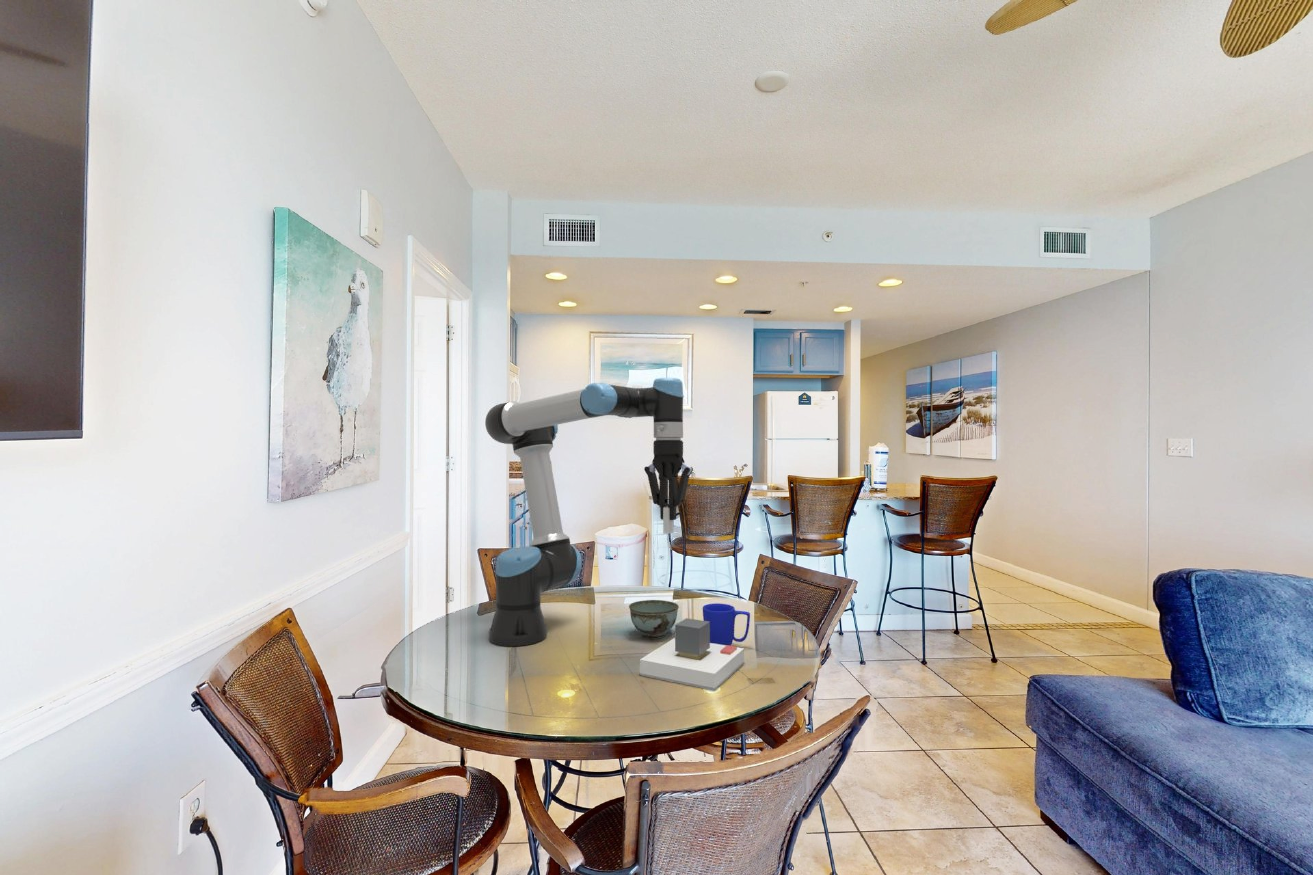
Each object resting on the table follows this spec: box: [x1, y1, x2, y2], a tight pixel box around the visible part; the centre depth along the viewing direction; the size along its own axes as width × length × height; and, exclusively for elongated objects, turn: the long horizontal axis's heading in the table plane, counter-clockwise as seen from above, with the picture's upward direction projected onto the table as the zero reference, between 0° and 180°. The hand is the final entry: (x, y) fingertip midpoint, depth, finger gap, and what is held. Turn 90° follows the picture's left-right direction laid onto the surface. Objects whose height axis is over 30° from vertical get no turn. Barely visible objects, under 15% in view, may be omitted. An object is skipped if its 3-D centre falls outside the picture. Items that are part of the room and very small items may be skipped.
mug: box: [702, 602, 751, 646], centre depth 154 cm, size 8×12×10 cm
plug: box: [674, 617, 710, 661], centre depth 138 cm, size 6×6×10 cm
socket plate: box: [639, 637, 745, 691], centre depth 138 cm, size 18×18×4 cm
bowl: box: [628, 599, 680, 640], centre depth 164 cm, size 14×13×8 cm
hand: (668, 532), depth 152 cm, fingers closed
